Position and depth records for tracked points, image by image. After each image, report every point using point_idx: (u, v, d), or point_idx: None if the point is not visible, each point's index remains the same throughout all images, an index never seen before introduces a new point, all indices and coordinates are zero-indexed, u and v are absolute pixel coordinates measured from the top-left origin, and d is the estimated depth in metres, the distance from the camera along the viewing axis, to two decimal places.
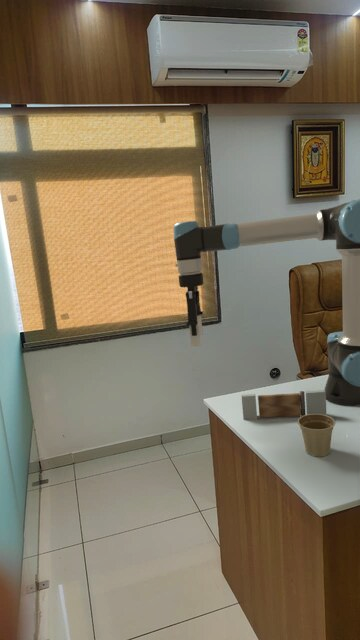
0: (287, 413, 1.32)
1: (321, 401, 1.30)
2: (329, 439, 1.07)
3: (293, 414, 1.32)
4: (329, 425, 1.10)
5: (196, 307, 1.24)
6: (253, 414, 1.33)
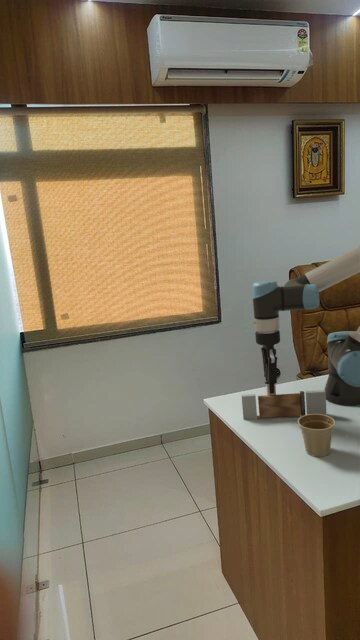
0: (287, 413, 1.32)
1: (321, 401, 1.30)
2: (329, 439, 1.07)
3: (293, 414, 1.32)
4: (329, 425, 1.10)
5: None
6: (253, 414, 1.33)
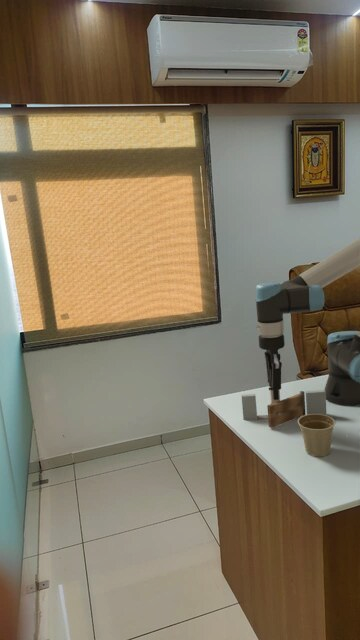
0: (292, 417, 1.29)
1: (321, 401, 1.30)
2: (329, 439, 1.07)
3: (297, 416, 1.30)
4: (329, 425, 1.10)
5: None
6: (253, 414, 1.33)
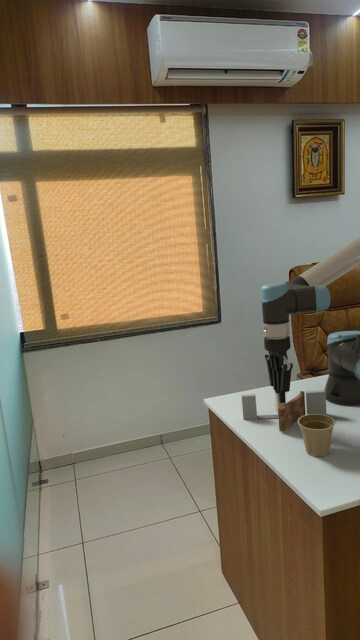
0: (297, 418, 1.28)
1: (321, 401, 1.30)
2: (329, 439, 1.07)
3: None
4: (329, 425, 1.10)
5: None
6: (253, 414, 1.33)
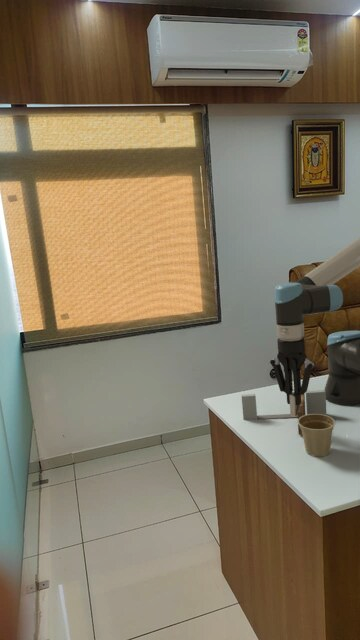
0: None
1: (321, 401, 1.30)
2: (329, 439, 1.07)
3: None
4: (329, 425, 1.10)
5: (299, 374, 1.20)
6: (253, 414, 1.33)
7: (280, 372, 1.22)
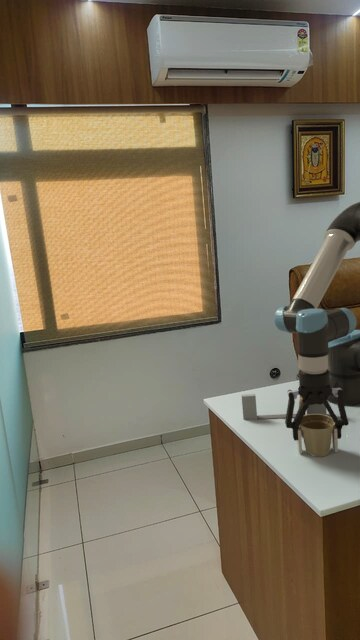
0: None
1: None
2: (329, 439, 1.07)
3: None
4: (329, 425, 1.10)
5: (302, 411, 1.08)
6: (253, 414, 1.33)
7: (338, 404, 1.08)
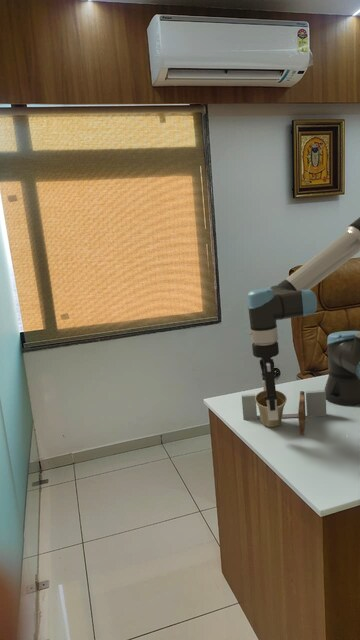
0: None
1: (321, 401, 1.30)
2: None
3: None
4: (264, 397, 1.30)
5: None
6: (253, 414, 1.33)
7: None
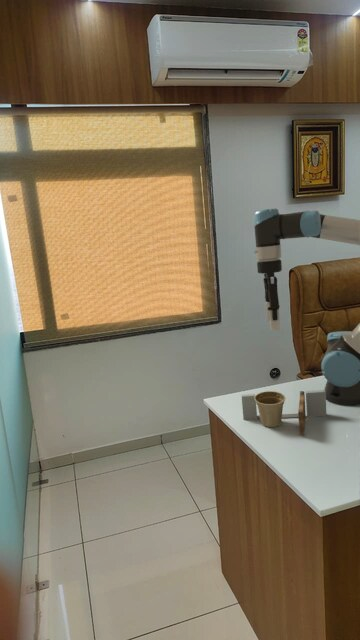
0: None
1: (321, 401, 1.30)
2: None
3: None
4: (264, 398, 1.31)
5: None
6: (253, 414, 1.33)
7: None
